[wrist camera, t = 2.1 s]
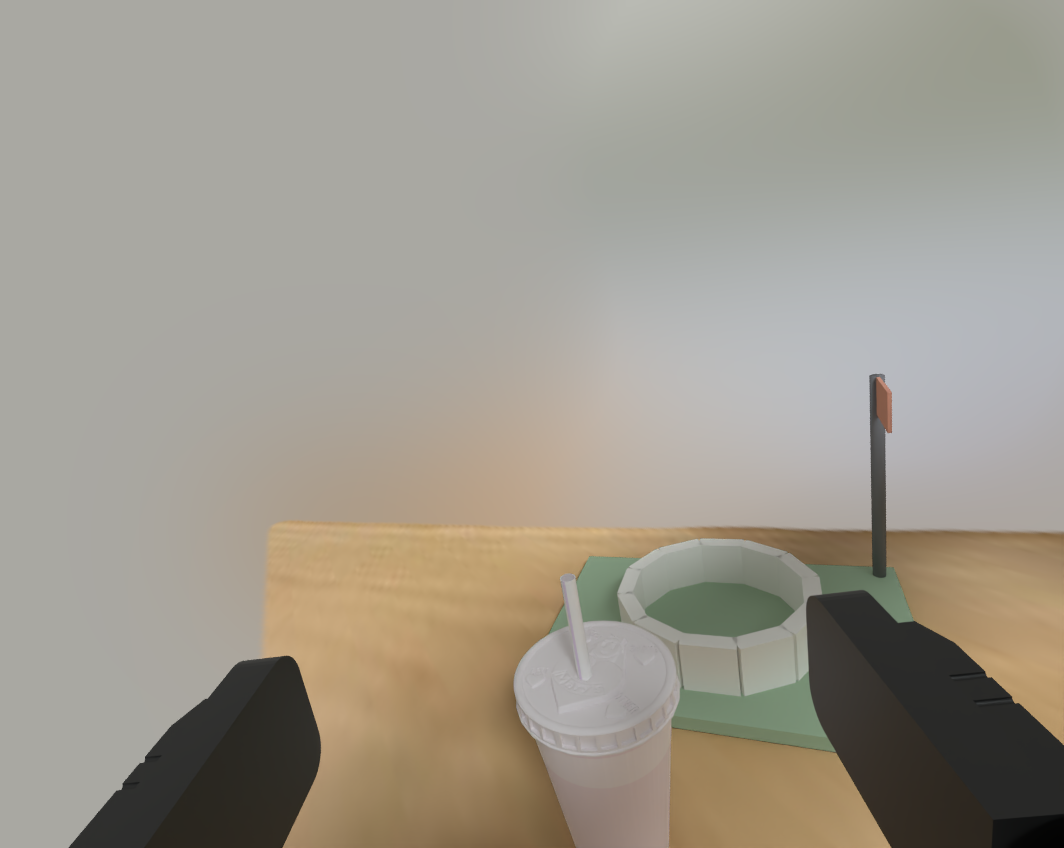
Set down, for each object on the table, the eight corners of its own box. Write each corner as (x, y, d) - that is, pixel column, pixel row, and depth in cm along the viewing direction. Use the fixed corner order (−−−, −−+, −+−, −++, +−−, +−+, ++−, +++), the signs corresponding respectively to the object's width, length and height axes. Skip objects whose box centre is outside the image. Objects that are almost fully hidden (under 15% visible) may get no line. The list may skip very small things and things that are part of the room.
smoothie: (522, 884, 24) (454, 597, 21) (599, 769, 29) (554, 520, 25) (662, 980, 20) (608, 645, 17) (724, 828, 25) (693, 542, 21)
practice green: (893, 577, 40) (892, 370, 36) (964, 771, 26) (975, 464, 22) (591, 564, 48) (563, 396, 44) (519, 704, 34) (470, 476, 30)
